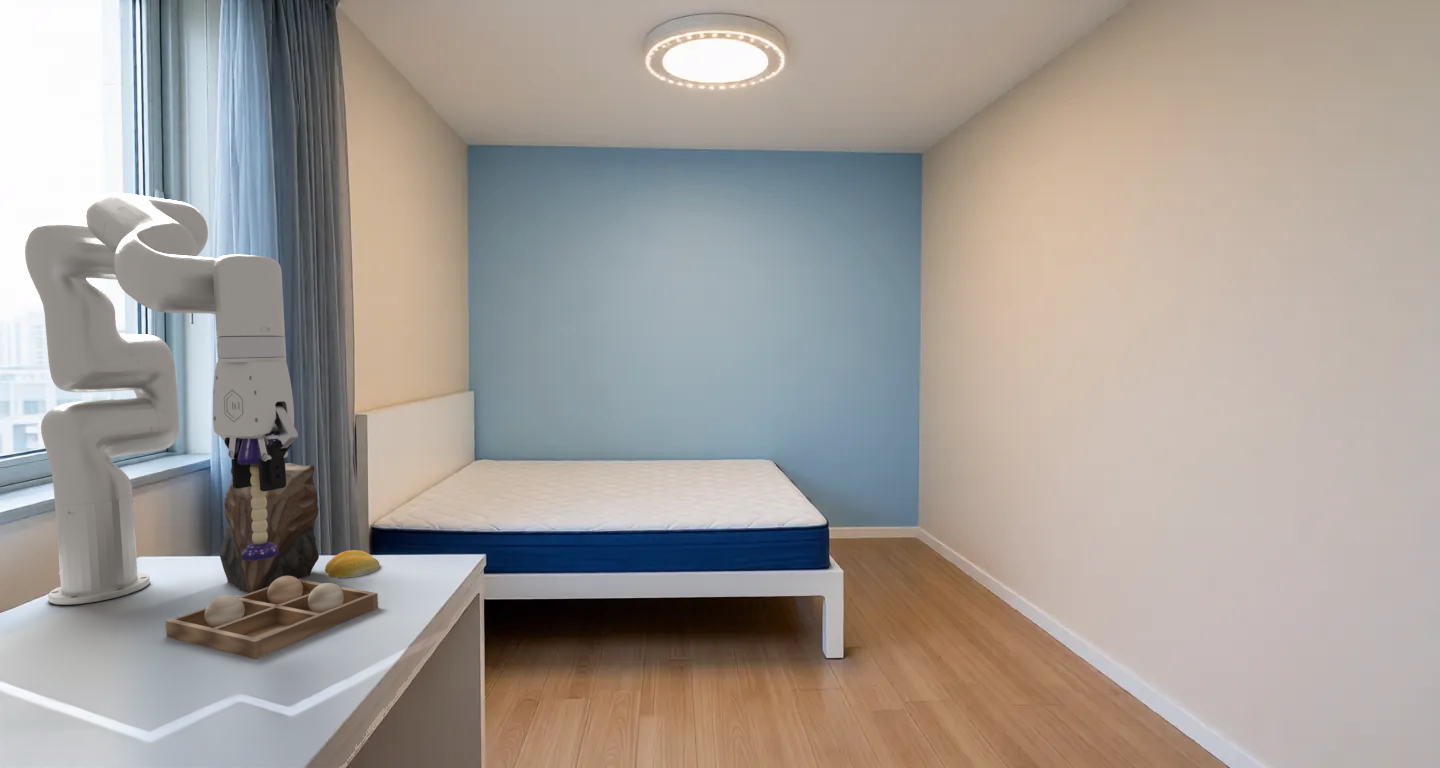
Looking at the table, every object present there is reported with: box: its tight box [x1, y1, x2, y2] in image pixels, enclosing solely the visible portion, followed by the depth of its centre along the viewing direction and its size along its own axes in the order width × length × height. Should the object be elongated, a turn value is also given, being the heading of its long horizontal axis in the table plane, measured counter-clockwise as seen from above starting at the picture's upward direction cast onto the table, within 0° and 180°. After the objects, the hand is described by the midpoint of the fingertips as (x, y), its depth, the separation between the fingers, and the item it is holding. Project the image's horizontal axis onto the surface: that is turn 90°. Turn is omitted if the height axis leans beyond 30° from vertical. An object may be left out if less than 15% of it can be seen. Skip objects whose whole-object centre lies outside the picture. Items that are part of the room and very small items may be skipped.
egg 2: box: [267, 576, 303, 605], centre depth 106 cm, size 5×5×5 cm
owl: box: [219, 462, 320, 594], centre depth 120 cm, size 13×13×20 cm
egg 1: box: [204, 594, 245, 628], centre depth 98 cm, size 5×5×5 cm
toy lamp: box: [237, 433, 279, 561], centre depth 94 cm, size 5×5×17 cm
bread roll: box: [324, 549, 380, 579], centre depth 124 cm, size 8×9×4 cm
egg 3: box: [308, 582, 344, 613], centre depth 103 cm, size 5×5×5 cm
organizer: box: [165, 579, 379, 660], centre depth 101 cm, size 18×18×3 cm
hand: (259, 486), depth 94 cm, fingers closed on toy lamp, 4 cm apart
